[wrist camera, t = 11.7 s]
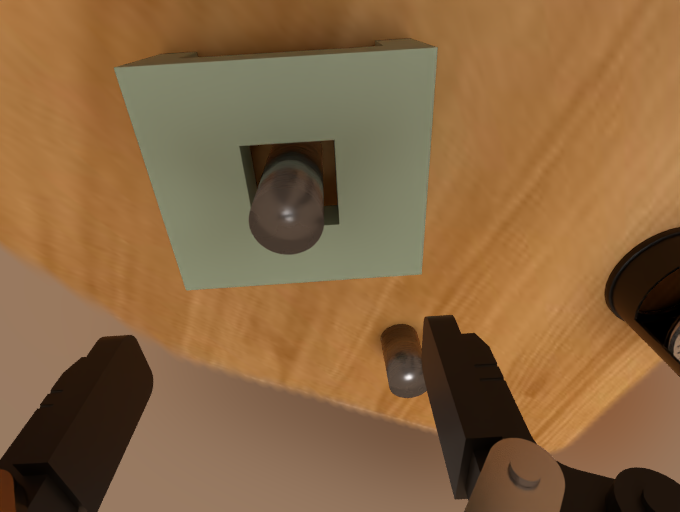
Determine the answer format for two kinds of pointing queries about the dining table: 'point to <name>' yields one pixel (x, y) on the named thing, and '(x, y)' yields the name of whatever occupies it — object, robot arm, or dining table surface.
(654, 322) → the french press
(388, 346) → the short pin
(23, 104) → the dining table surface
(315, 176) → the long pin
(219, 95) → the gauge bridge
